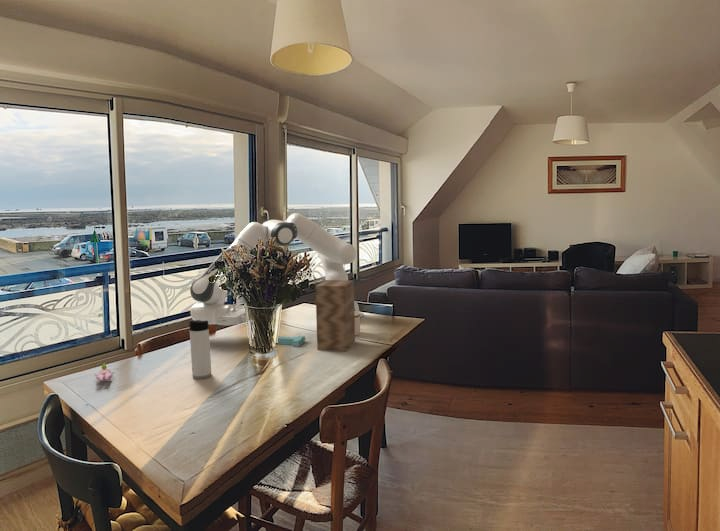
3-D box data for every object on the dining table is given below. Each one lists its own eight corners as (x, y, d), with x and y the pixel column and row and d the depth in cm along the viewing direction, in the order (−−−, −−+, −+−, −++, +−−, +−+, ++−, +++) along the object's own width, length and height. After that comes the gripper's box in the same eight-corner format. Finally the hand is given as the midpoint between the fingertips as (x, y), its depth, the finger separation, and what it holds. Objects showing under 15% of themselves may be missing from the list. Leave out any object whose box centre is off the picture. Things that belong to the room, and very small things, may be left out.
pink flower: (95, 379, 180) (93, 386, 166) (94, 362, 180) (92, 368, 166) (115, 376, 182) (114, 383, 169) (114, 360, 182) (113, 365, 169)
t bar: (256, 344, 214) (256, 339, 214) (264, 339, 222) (264, 334, 222) (298, 347, 210) (298, 341, 210) (305, 341, 218) (304, 335, 217)
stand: (317, 349, 205) (315, 285, 202) (327, 340, 219) (325, 279, 215) (346, 351, 202) (345, 286, 199) (354, 341, 216) (353, 280, 212)
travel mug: (188, 379, 174) (184, 321, 172) (197, 372, 181) (194, 317, 178) (206, 380, 173) (202, 322, 170) (214, 373, 180) (211, 317, 177)
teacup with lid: (363, 331, 231) (363, 306, 229) (355, 337, 223) (355, 310, 221) (339, 329, 236) (339, 304, 234) (330, 334, 227) (330, 308, 226)
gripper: (214, 312, 209) (246, 314, 206) (237, 303, 229) (266, 304, 226) (215, 328, 210) (246, 329, 207) (238, 316, 230) (266, 318, 227)
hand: (257, 316), depth 216 cm, fingers open, 8 cm apart
